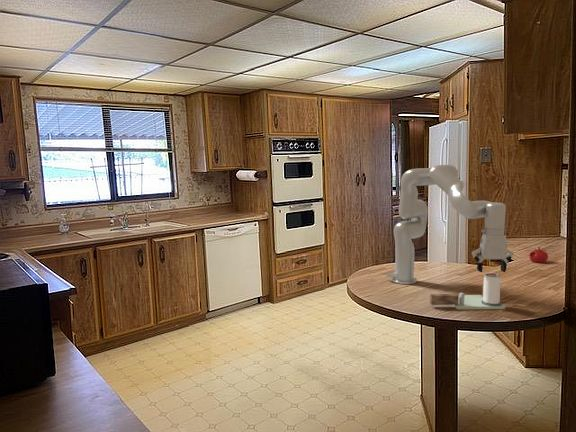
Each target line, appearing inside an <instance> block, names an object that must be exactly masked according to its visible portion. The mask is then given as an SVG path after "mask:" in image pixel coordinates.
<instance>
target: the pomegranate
mask: <svg viewBox="0 0 576 432" xmlns="http://www.w3.org/2000/svg"><path fill="white" fill-rule="evenodd" d="M548 254H549V253H548V252H547V251H545V249H544V248H542V249H541V247H540V246H538V249H537V248H535V249H532V250H531V252H530V253H529V255H528V256H529V260H530V262H532V263H536V264H544V263H546V262H548V258H549V255H548Z"/></svg>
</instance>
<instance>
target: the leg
mask: <svg viewBox="0 0 576 432" xmlns="http://www.w3.org/2000/svg"><path fill="white" fill-rule="evenodd" d="M459 295H460V294H458V293H430V295H429V297H430V298H429V299H430V301H429V303H430V305H432V306H436V305H437V306H440V305H441V306H448V305H451V306H453V305H458V304H459Z"/></svg>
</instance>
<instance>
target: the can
mask: <svg viewBox="0 0 576 432" xmlns="http://www.w3.org/2000/svg"><path fill="white" fill-rule="evenodd" d="M483 283H484V287H483V286H482V287H483V301H484V302H485V303H487V304H498V303H499V302H501V301H500V300H501V299H500V298H501V277H500V274H497V273H491V272H490V273H485V274H484V277H483Z"/></svg>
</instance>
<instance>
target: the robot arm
mask: <svg viewBox="0 0 576 432" xmlns="http://www.w3.org/2000/svg"><path fill="white" fill-rule="evenodd" d="M434 185H436V186H437V187H438V188H439V189H441V191H443V192H444V193H445V194H446V195H447V196H448V198H449V199H448V200H449V202H450V204H451V206H452V207H453V209H454V210H455V211H456V212H457V213H458V214H459V215H461V216H462V217H463V218H465V219H468V220H473V219H474V220H475V219H482V218H484V227H483V228H481V230H480V233H483V234H482V236H481V239H480V242H479V243H480V244H479V248H477V249H475V250H473V251H471V255H472V257H473V259H474V260H475V261H476V263H477V264H476V270H477V271H479V273H482V272H483V265H484V263H483V262H484V260H501V262H500V271H501V272H503V273H506V271H507V267H508V266H507V265H508V263H509V261H511V260H512V258H513V257H514V255H515V253H514V252H513V251H511V250H510V249H508V241H507V236H506V235H505V224H506V223H505V221H506V212H507V211H506V207H507V206H506V204H505V203H502V202H497V201H496V202H493V201H492V202H491V201H489V200H483V199H482V200H470V199H469V198H468V197H466V196H465V195H464V194H463V193H462V191H463V190H464V187H465V183H464V182H463V181H462V180H461V179H460V178H459V172H458V169H457V168H456V167H455V166H454V165H453V164H438V165H437V164H436V165H434V166H433V167H427V168H425V167H424V168H420V167H419V168H417V167H416V168H411V169H408V170H406V171H405V172H404V173H403V174H402V176H401V178H400V194H399V195H400V197H399V203H398V205H399V206H398V214H399V217H400V218H401V219H404V220H403V221H398V222H397V223H396V224H395V225H394V227H393V236H394V237H393V238H394V244H395V249H394V251H395V252H394V253H395V255H394V256H395V260H394V263H395V265H394V269H395V270H394V271H393V272H392V273H386V274H385V277H386V278H389V279H391V281H392V282H393V283H396V284H399V285H412V284H416V283H417V282H418V279H417V277H415V244H414V242H413V240H412V239H418V238H421V237H423V236H424V235H425V233H426V228H427V221H428V214H429V213H428V212H429V209H428V205H427V204H426V201H424V200H423V199H418V196H419V191H418V188H417V187H419V186H434ZM409 219H410V220H409ZM477 254H479V256H478V255H477Z"/></svg>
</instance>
